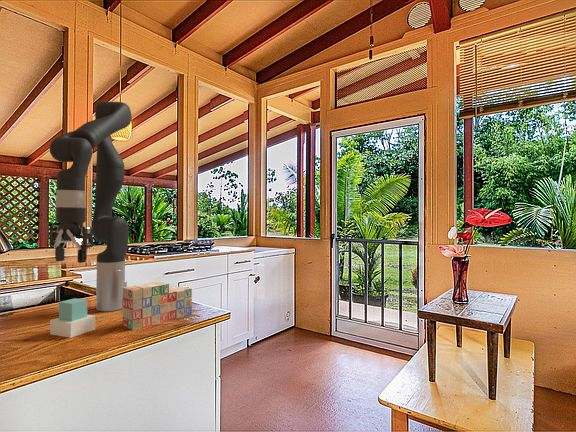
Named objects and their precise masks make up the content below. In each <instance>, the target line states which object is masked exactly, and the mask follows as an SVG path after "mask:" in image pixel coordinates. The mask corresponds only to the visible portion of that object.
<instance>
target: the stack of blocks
mask: <svg viewBox="0 0 576 432" xmlns="http://www.w3.org/2000/svg"><path fill="white" fill-rule="evenodd" d="M192 293H193V292H192V287H187V286H174V287H170V284H169V283H168V282H161V281H152V282H146V283H142V284H137V285H131V286H130V285H129V286H127V287H123V299H122V305H123V308H122V327H124V328H126V329H129V330H132V331H134V330H139V329H143V328H147V327H151V326H154V325H158V324H161V323H166V322H169V321H173V320H177V319H179V318H183V317H188V316H191V315H192V313H193V312H192V311H193V310H192V305H193V297H192V296H193V295H192Z"/></svg>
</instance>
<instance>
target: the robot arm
mask: <svg viewBox="0 0 576 432" xmlns="http://www.w3.org/2000/svg"><path fill="white" fill-rule="evenodd" d="M94 118H95V119H92V120H91V121H90V120H89V121H87V122H84V123H83V124H82V125H80V126H79V127H78V128H76V129H75V130H72V131H69V132H66V133H64V134H61V135H58V136H56V137H54V139H52V141H51V143H50V144H49V153H50V155H51V158H53V159H54V160H55V161H58V162H61V163H72V164H71V166H70V167H69V168H67V169H62V170H59V171H58V172H57V175H56V195H55V222H56V223H58V225H50V226H49V239H48V240H49V241H48V242H49V243H48V246H49V247H53V248H54V249H55V252H54V253H55V254H54V255H55V261H56V262H63V261H65V248H64V247H65V246H66V243H68V242H72V243H73V244H74V245H75V247H76V248H77V263H78V264H83V263H86V262H87V258H88V257H87V253H88V249H89V248H93V246H94V239H95V240H96V241H97V242H101V243H106V247H105V249H104V250H103V251H101V252H99V253H98V254H96V255H97V256H96V286H95V287H96V288H95V289H96V291H95V293H96V294H95V295H96V296H95V300H96V301H95V306H96V307H95V308H96V309H95V310H96V311H98V312H114V311H119V310H123V305H122V299H123V287H128V281H127V280H126V256H127V253H128V248H129V247H128V246H129V231H130V230H129V225H128V224H129V223H128V222H127V221H126V220H125V218H123V217H119V216H118V217H117V216H116V217H115V216H113V207H114V204H115V203H114V202H115V201H116V198H117V196H118V194H119V193H120V192H121V189H122V187H123V185H124V181H125V162H124V161H123V158H122V157H121V155H120V153H119V152H118V150H117V149H116V147H115V146H114V144H113V140H112V138H111V137H112V136H111V135H113V134H115V133H117V132H118V131H121V130H123V129H126V128H127V127H128V126H130V124H131V122H132V110H131V108H130V106H129V105H128V104H127V103H124V102H122V101H99V102H98V103H97V104H96V105H95V111H94ZM95 148H96V162H95V163H96V164H95V196H94V197H95V199H94V210H93V216H92V223H91V226H84V223H86V221H87V195H86V176H87V173H88V170H89V167H90V163H91V160H92V157H93V149H95Z"/></svg>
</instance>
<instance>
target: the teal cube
mask: <svg viewBox="0 0 576 432" xmlns="http://www.w3.org/2000/svg"><path fill="white" fill-rule="evenodd" d="M87 315H88V299H83V298H76V297H75V298H71V299H66V300H61V301H59V302H58V318H59V320H66V321H75V320H78V319H81V318H84V317H87Z"/></svg>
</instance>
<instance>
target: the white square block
mask: <svg viewBox="0 0 576 432" xmlns="http://www.w3.org/2000/svg"><path fill="white" fill-rule="evenodd" d="M94 330H96V315H94V314H93V315H92V314H87V317H84V318H81V319H78V320H75V321H66V320H59V317H57V318H53V319H50V320H49V334H50V335H51V336H56V337H57V336H58V337H63V338H70V339H71V338H74V337H77V336H80V335H83V334H85V333H88V332H91V331H94Z"/></svg>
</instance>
